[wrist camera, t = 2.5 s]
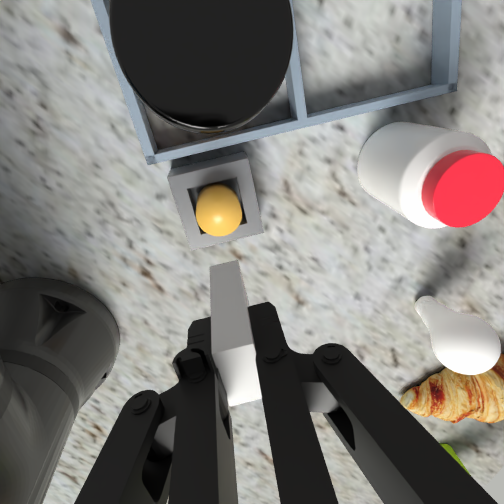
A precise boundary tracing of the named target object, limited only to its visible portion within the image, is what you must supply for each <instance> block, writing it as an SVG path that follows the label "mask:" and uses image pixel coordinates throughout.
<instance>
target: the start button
mask: <svg viewBox="0 0 504 504" xmlns="http://www.w3.org/2000/svg"><path fill="white" fill-rule="evenodd" d="M196 219H197V222H198V225H199V226H200V228H201V229H202V230H203V231H204V232H206V233H207V234H210V235H212V236H225V235H228V234H230V233H232V232H233V231H235V230H236V229H237V227H238V226H239V224H240V222H241V219H242V210H241V207H240V203H239V200H238V197H237V194H236V192H235V191H234V190H233V189H232V188H231V187H230V186H229V185H227V184H224V183H219V182H216V183H211V184H208V185H206V186H205V187H204V188H203V189H202V190H201V191H200V192H199V194H198V197H197V206H196Z"/></svg>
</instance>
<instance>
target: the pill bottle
mask: <svg viewBox="0 0 504 504" xmlns="http://www.w3.org/2000/svg"><path fill="white" fill-rule="evenodd" d="M357 174H358V179H359V182H360V184H361V186H362V188H363V189H364V190H365V191H366V192H367V193H368V194H369V195H371V196H372V197H374V198H375V199H377V200H378V201H380V202H382V203H383V204H385V205H386V206H388V207H389V208H391V209H392V210H394V211H395V212H397V213H399V214H400V215H402V216H403V217H405V218H406V219H408V220H409V221H411V222H413V223H414V224H416V225H418V226H421V227H424V228H432V229H434V228H443V227H447V226H450V227H466V226H470V225H472V224H474V223H477V222H479V221H480V220H482V219H483V218H485V217H486V216H487V215H488V214H489V213H490V212H491V211H492V210H493V209H494V208H495V207H496V205H497V204H498V202H499V201H500V199H501V197H502V195H503V192H504V167H503V165H502V163H501V162H500V161H499V160H498V159H497V158H496V157H495V156H492V154H491V151H490V149H489V147H488V146H487V144H486V143H485V142H484V141H483V140H482V139H481V138H480V137H478V136H476V135H474V134H472V133H469V132H464V131H458V130H452V129H446V128H440V127H434V126H428V125H422V124H417V123H411V122H394V123H390V124H388V125H385V126H383V127H381V128H380V129H379V130H377V131H376V132H375V133H374V134H373V135H372V136H371V137H370V138H369V139H368V140H367V141H366V143H365V144H364V146H363V148H362V150H361V152H360V155H359V158H358V164H357Z"/></svg>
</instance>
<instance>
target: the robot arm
mask: <svg viewBox="0 0 504 504" xmlns="http://www.w3.org/2000/svg"><path fill="white" fill-rule="evenodd" d="M210 299H211V317H208V318H204V319H200V320H196V321H193V322H192V324H191V326H190V327H189V329H188V339H187V348H186V349H184V350H182V351H181V352H179V353H178V354H177V355H176V357H175V358H174V360H173V363H172V364H173V367H174V369H175V372H176V374H177V376H178V379H179V382H178V383H177V384H176V385H175V386H174V387H172V388H171V389H169V390H167V391H165V392H163V393H161V394H159V395H158V393H157V392H155V391H153V390H145V391H141V392H139V393H137V394H135V395H133V396H132V397H131V398H130V399H129V400H128V401H127V402H126V404H125V405H124V406H123V408H122V410H121V412H120V414H119V416H118V418H117V420H116V422H115V424H114V426H113V428H112V430H111V432H110V434H109V436H108V438H107V440H106V442H105V444H104V446H103V448H102V450H101V452H100V454H99V456H98V458H97V460H96V462H95V464H94V466H93V468H92V470H91V471H90V473H89V475H88V477H87V479H86V481H85V483H84V485H83V487H82V489H81V491H80V493H79V495H78V497H77V499H76V501H75V503H74V504H166V503H167V499H168V496H169V501H168V504H238V495H237V483H236V470H235V458H234V445H233V433H232V420H231V416H230V413H229V410H228V402H229V405H230V406H234V405H238V404H242V403H246V402H250V401H254V400H258V399H262V401H263V406H264V412H265V418H266V423H267V429H268V435H269V440H270V446H271V452H272V457H273V463H274V468H275V474H276V480H277V485H278V491H279V497H280V502H281V504H338V501H337V498H336V494H335V491H334V488H333V485H332V482H331V479H330V475H329V472H328V469H327V466H326V463H325V460H324V456H323V453H322V450H321V447H320V444H319V441H318V437H317V434H316V431H315V428H314V425H313V422H312V418H311V415H310V412H322V413H323V415H324V417H325V418H326V419H327V421H328V422H329V424H330V425H331V427H332V428H333V430H334V431H335V433H336V434H337V436H338V437H339V439H340V440H341V441H342V443H343V444H344V446H345V447H346V449H347V450H348V452H349V453H350V455H351V456H352V458H353V459H354V461H355V462H356V463H357V465H358V466H359V468H360V469H361V471H362V472H363V474H364V475H365V477H366V478H367V480H368V481H369V483H370V484H371V485H372V487H373V488H374V490H375V491H376V493H377V494H378V496H379V497H380V499H381V500H382V502H383V503H384V504H498V503H497V502H496V501H495V500H494V499H493V498H492V497H491V496H490V495H489V494H488V493H487V492H486V491H485V490H484V489H483V488H482V487H481V486H480V485H479V484H478V483H477V482H476V481H475V480H474V479H473V478H472V477H471V476H470V474H469V473H468V472H467V471H466V470H465V469H464V468H463V467H462V466H461V465H460V464H459V463H458V462H457V461H456V460H455V459H454V458H453V457H452V456H451V455H450V454H449V453H448V452H447V451H446V450H445V449H444V448H443V447H442V446H441V445H440V444H439V443H438V442H437V440H436V439H435V438H434V437H433V436H432V435H431V434H430V433H429V432H428V431H427V430H426V429H425V428H424V427H423V426H422V425H421V424H420V423H419V422H418V421H417V420H416V419H415V418H414V417H413V416H412V415H411V414H410V413H409V412H408V411H407V410H406V409H405V408H404V407H403V405H402V404H401V403H400V402H399V401H398V400H397V399H396V398H395V397H394V396H393V395H392V394H391V393H390V392H389V391H388V390H387V389H386V388H385V387H384V386H383V385H382V384H381V383H380V382H379V381H378V380H377V379H376V378H375V377H374V376H373V375H372V374H371V373H370V371H369V370H368V369H367V368H366V367H365V366H364V365H363V364H362V363H361V362H360V361H359V360H358V359H357V358H356V357H355V356H354V355H353V354H352V353H351V352H350V351H349V350H348V349H347V348H345V347H344V346H343V345H339V344H336V343H328V344H324V345H321V346H320V347H318V348H317V349H316V350H315V352H314V353H313V354H300V353H297V352H295V351H293V350H291V349H290V348H289V347H288V345H287V343H286V340H285V337H284V333H283V330H282V327H281V324H280V321H279V318H278V314H277V311H276V308H275V306H273V305H272V304H271V303H270V302H265V303H261V304H257V305H253V306H249V301H248V297H247V293H246V290H245V286H244V282H243V278H242V274H241V270H240V267H239V263H238V260H235V261H231V262H227V263H223V264H219V265H215V266H211V267H210ZM119 345H120V337H119V331H118V327H117V324H116V322H115V320H114V318H113V317H112V315H111V313H110V312H109V311H108V309H107V308H106V307H105V306H104V305H103V304H102V303H101V302H100V301H99V300H97V299H96V298H95V297H94V296H92V295H91V294H89V293H88V292H86V291H84V290H82V289H80V288H78V287H76V286H74V285H71V284H68V283H65V282H62V281H57V280H53V279H46V278H23V279H17V280H12V281H9V282H6V283H3V284H1V285H0V504H42V503H43V501H44V498H45V496H46V493H47V490H48V488H49V485H50V483H51V480H52V477H53V475H54V472H55V470H56V467H57V464H58V462H59V459H60V457H61V454H62V451H63V449H64V446H65V444H66V441H67V438H68V436H69V433H70V431H71V428H72V425H73V423H74V420H75V418H76V415H77V413H78V411H79V409H80V408H81V407H82V406H83V405H84V404H85V403H86V401H87V400H88V399H89V398H90V397H91V395H92V394H93V393H94V391H95V390H96V389H97V388H98V387H99V386H100V385H101V384H102V383H103V382H104V381H105V379H106V378H107V377H108V375H109V374H110V372H111V370H112V368H113V366H114V363H115V360H116V357H117V354H118V350H119ZM227 399H228V400H227Z"/></svg>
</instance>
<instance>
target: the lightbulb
mask: <svg viewBox="0 0 504 504" xmlns="http://www.w3.org/2000/svg"><path fill="white" fill-rule="evenodd" d="M415 310H416V311H417V312H418V314H419V315H420V316H421V317H422V320H423V322H424V324H425V325H426V326H427V328H428V330H429V332H430V338H431V344H432V349H433V351H434V353H435V355H436V357H437V358H438V360H439V361H440V362H441V363H442V364H443V365H444V366H446V367H447V368H449V369H451V370H452V371H454V372H457V373H461V374H467V375H476V374H480V373H483V372H486V371H488V370H489V369H491V368H492V367H493V366H494V365H495V364H496V362H497V361H498V359H499V357H500V354H501V343H500V339H499V336H498V335H497V333H496V331H495V330H494V329H493V327H492V326H491V325H490V324H489V323H487V322H486V321H485V320H483V319H481V318H479V317H477V316H475V315H471V314H467V313H460V312H456V311H454V310H452V309H450V308H448V307H447V306H446V305H444V304H442V303H439V302H438V301H437V300H436V299H434V298H433V297H432V296H423V297H421V298H419V299H418V300H417V301H416V303H415Z"/></svg>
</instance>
